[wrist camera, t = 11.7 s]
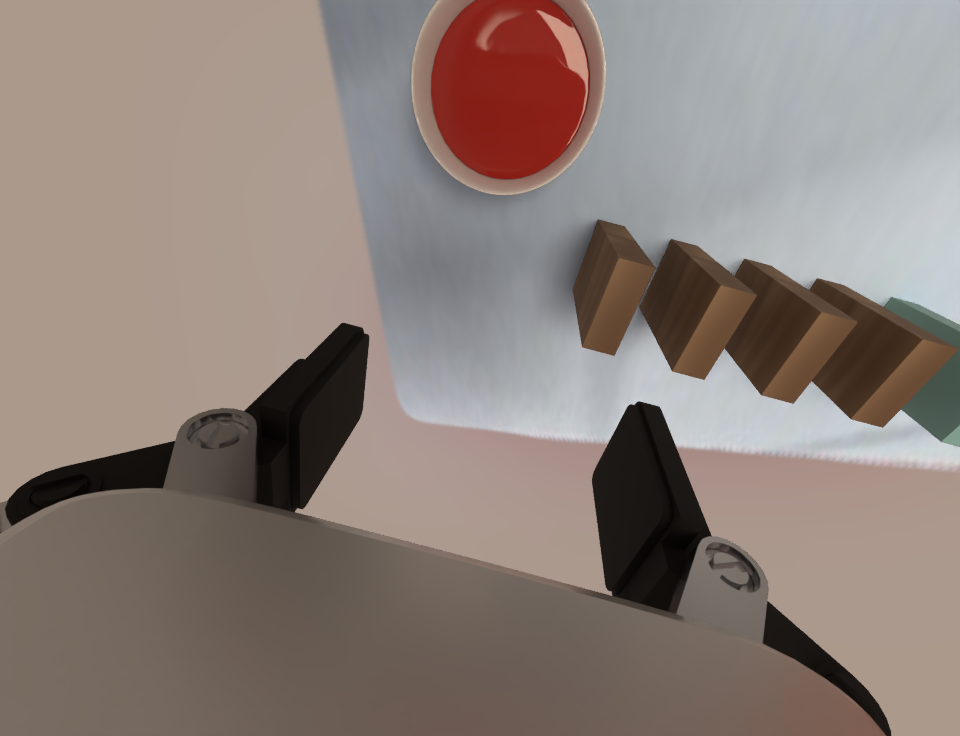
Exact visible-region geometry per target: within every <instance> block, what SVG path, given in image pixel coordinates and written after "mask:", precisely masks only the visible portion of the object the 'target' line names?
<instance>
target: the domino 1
mask: <svg viewBox="0 0 960 736" xmlns="http://www.w3.org/2000/svg"><path fill="white" fill-rule="evenodd" d="M654 270H655V267H654V265H653V264H652V263H651V261H650V260H649V259H648V257H647V256H646V254H645V253H644V252H643V250H642V249H641V248H640V246H639V245H638V244H637V242H636V241H635V240H634V238H633V237H632V236H631V234H630V233H629V232H628V230H627V229H626V228H625V227H624V226H621V225H617V224H613V223H609V222H606V221H602V220H598V222H597V225H596V227H595V230H594V233H593V236H592V238H591V241H590V244H589V247H588V249H587V252H586V255H585V258H584V260H583V263H582V266H581V268H580V271H579V274H578V277H577V279H576V282H575V285H574V288H573V294H574V300H575V306H576V312H577V318H578V325H579V331H580V337H581V343H582V347H583V348H587V349H591V350H595V351H598V352H602V353H606V354H609V355H613V356H615V354H616V351H617V349H618V347H619V345H620V343H621V341H622V338H623V336H624V334H625V332H626V330H627V328H628V326H629V323H630V321H631V319H632V317H633V315H634V313H635V311H636V308H637V306H638V304H639V302H640V300H641V298H642V295H643V293H644V291H645V289H646V287H647V285H648V283H649V280H650V278H651V276H652V274H653V272H654Z"/></svg>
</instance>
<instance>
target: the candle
mask: <svg viewBox="0 0 960 736" xmlns="http://www.w3.org/2000/svg"><path fill="white" fill-rule="evenodd" d="M605 85H606V60H605V52H604V46H603V41H602V37H601V34H600V30H599V28H598V25H597V22H596V20H595V18H594V15H593V13H592V11H591V9H590V8H589V6H588V4H587V3H586V1H585V0H437V1H436V3H435V4H434V6H433V7H432V9H431V10H430V12H429V14H428V16H427V18H426V20H425V22H424V24H423V26H422V28H421V31H420V34H419V36H418V39H417V43H416V46H415V51H414V55H413V61H412V70H411V94H412V103H413V109H414V113H415V117H416V121H417V124H418V127H419V130H420V132H421V135H422V137H423V139H424V141H425V143H426V145H427V147H428V149H429V150H430V152H431V153H432V155H433V156H434V158H435V159H436V160H437V162H438V163H439V164H440V165H441V166H442V167H443V168H444V169H445V170H446V171H447V172H448V173H449V174H450V175H451V176H453V177H454V178H455V179H456V180H458V181H459V182H461V183H463V184H464V185H466V186H468V187H470V188H472V189H475V190H477V191H481V192H484V193H488V194H494V195H515V194H521V193H525V192H529V191H532V190H534V189H537V188H539V187H541V186H543V185H545V184H547V183H549V182H550V181H552V180H554V179H555V178H556V177H558V176H559V175H560V174H561V173H563V172H564V171H565V170H566V169H567V168H568V167H569V166H570V165H571V164H572V163H573V162H574V161H575V159H576V158H577V157H578V156H579V154H580V153H581V152H582V150H583V149H584V147H585V146H586V144H587V142H588V141H589V139H590V137H591V135H592V133H593V131H594V128H595V126H596V124H597V121H598V118H599V115H600V112H601V108H602V104H603V99H604V93H605Z"/></svg>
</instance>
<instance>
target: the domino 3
mask: <svg viewBox="0 0 960 736" xmlns="http://www.w3.org/2000/svg"><path fill="white" fill-rule="evenodd" d="M735 277H736V278H737V279H738V280H740V281H741V282H742V283H743V284H744V285H746V286H747V287H748V288H749V289H750V290H752V291H753V292H754V293H755V294H757V296H756V298H755V300H754V301H753V303H752V304H751V306H750V308H749V309H748V311H747V312H746V314H745V316H744V317H743V319H742V320H741V322H740V324H739V325H738V327H737V328H736V330H735V332H734V333H733V335H732V336H731V338H730V340H729V341H728V343H727V344H726V346H725V350H726V351H727V352H728V353H729V355H730V356H731V357H732V358H733V360H734V361H735V362H736V364H737V365H738V366H739V367H740V369H741V370H742V371H743V372H744V374H745V375H746V376H747V378H748V379H749V380H750V381H751V383H752V384H753V385H754V386H755V388H756V389H757V390H758V392H759V393H760V394H761V395H763V396H767V397H770V398H774V399H778V400H782V401H785V402H789V403H793V404H794V402H795V401H796V400H797V399H798V397H799V396H800V395H801V394H802V392H803V391H804V390H805V389H806V387H807V386H808V385H809V384H810V382H811V381H812V380H813V378H814V377H815V376H816V375H817V373H818V372H819V371H820V370H821V368H822V367H823V366H824V365H825V363H826V362H827V361H828V359H829V358H830V357H831V356H832V354H833V353H834V352H835V351H836V349H837V348H838V347H839V346H840V344H841V343H842V342H843V341H844V339H845V338H846V337H847V335H848V334H849V333H850V332H851V330H852V329H853V328H854V327H855V325H856V324H857V323H858V322H857V321H856V320H854V319H853V318H851V317H849V316H848V315H846V314H845V313H843V312H842V311H840V310H839V309H837V308H836V307H834V306H832V305H831V304H829V303H828V302H826V301H825V300H823V299H822V298H820V297H818V296H817V295H815V294H814V293H812V292H811V291H809V290H808V289H806V288H805V287H803V286H801V285H800V284H798V283H797V282H795V281H794V280H792V279H791V278H789V277H788V276H786V275H784V274H783V273H781V272H780V271H778V270H777V269H775V268H774V267H772V266H770V265H766V264H762V263H759V262H755V261H751V260H747V259H744V261H743V262H742V264H741V266H740V268H739V269H738V271H737V273H736V275H735Z"/></svg>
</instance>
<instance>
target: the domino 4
mask: <svg viewBox="0 0 960 736" xmlns="http://www.w3.org/2000/svg"><path fill="white" fill-rule="evenodd" d="M809 291H811V292H812V293H814V294H815V295H817V296H818V297H820V298H822V299H823V300H825V301H826V302H828V303H829V304H831V305H832V306H834V307H836V308H837V309H839V310H840V311H842V312H843V313H845V314H846V315H848V316H849V317H851V318H853V319H854V320H856V321H857V322H858V323H857V324H856V325H855V327H854V328H853V329H852V330H851V332H850V333H849V334H848V335H847V337H846V338H845V339H844V341H843V342H842V343H841V344H840V346H839V347H838V348H837V349H836V351H835V352H834V353H833V354H832V356H831V357H830V358H829V359H828V361H827V362H826V363H825V365H824V366H823V367H822V368H821V370H820V371H819V372H818V373H817V375H816V376H815V377H814V378H813V380H812V382H813V383H814V384H815V385H816V386H818V387H819V388H820V389H821V390H822V391H823V392H824V393H825V394H826V395H827V396H828V397H829V398H830V399H831V400H832V401H833V402H834V403H835V404H836V405H837V406H838V407H839V408H840V409H841V410H842V411H843V412H844V413H845V414H846V415H847V416H848V417H849V418H850V419H852V420H856V421H860V422H864V423H867V424H871V425H875V426H879V427H882V428H883V427H884V426H885V425H886V424H887V423H888V422H889V421H890V420H891V419H892V418H893V417H894V416H895V415H896V414H897V413H898V412H899V411H900V410H901V409H902V408H903V407H904V406H905V404H906V403H907V402H908V401H909V400H910V399H911V398H912V397H913V396H914V395H915V394H916V393H917V392H918V391H919V390H920V389H921V388H922V387H923V386H924V385H925V384H926V383H927V382H928V381H929V380H930V379H931V378H932V377H933V376H934V375H935V374H936V373H937V372H938V371H939V370H940V369H941V368H942V366H943V365H944V364H945V363H946V362H947V361H948V360H949V359H950V358H951V357H952V356H953V355H954V354H955V353H956V352H957V351H958V350H959V349H958V348H956V347H954V346H953V345H951V344H949V343H947V342H945V341H944V340H942V339H940V338H938V337H936V336H934V335H933V334H931V333H929V332H927V331H925V330H924V329H922V328H920V327H918V326H916V325H915V324H913V323H911V322H909V321H907V320H906V319H904V318H902V317H900V316H898V315H897V314H895V313H893V312H891V311H889V310H888V309H886V308H884V307H882V306H880V305H879V304H877V303H875V302H873V301H871V300H869V299H868V298H866V297H864V296H862V295H860V294H859V293H857V292H855V291H853V290H851V289H850V288H848V287H846V286H844V285H841V284H837V283H833V282H830V281H826V280H822V279H817V280H816V282H815V283H814V284H813V286H812V287H811V289H810V290H809Z"/></svg>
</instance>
